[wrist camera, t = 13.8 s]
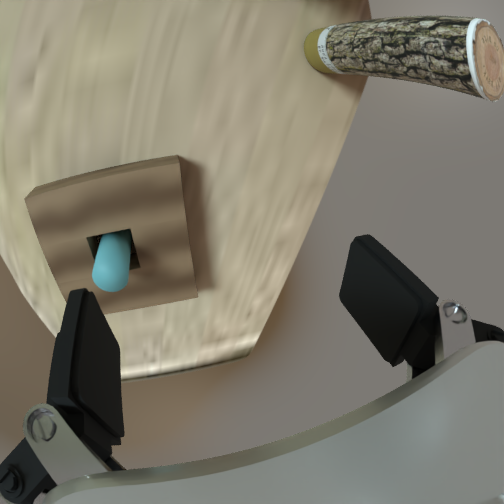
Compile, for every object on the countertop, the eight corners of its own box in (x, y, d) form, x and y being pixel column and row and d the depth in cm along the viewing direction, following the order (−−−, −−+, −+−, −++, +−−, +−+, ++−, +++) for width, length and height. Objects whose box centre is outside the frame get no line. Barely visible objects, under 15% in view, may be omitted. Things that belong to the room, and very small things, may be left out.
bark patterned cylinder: (341, 77, 33) (503, 111, 13) (299, 68, 31) (469, 84, 11) (345, 36, 29) (507, 42, 10) (303, 24, 27) (470, 2, 8)
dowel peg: (98, 226, 34) (87, 264, 27) (128, 220, 36) (122, 257, 28) (106, 253, 37) (99, 294, 30) (134, 248, 38) (132, 288, 31)
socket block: (35, 187, 28) (24, 198, 25) (177, 155, 33) (179, 163, 30) (78, 301, 39) (75, 318, 36) (194, 280, 44) (198, 297, 41)
